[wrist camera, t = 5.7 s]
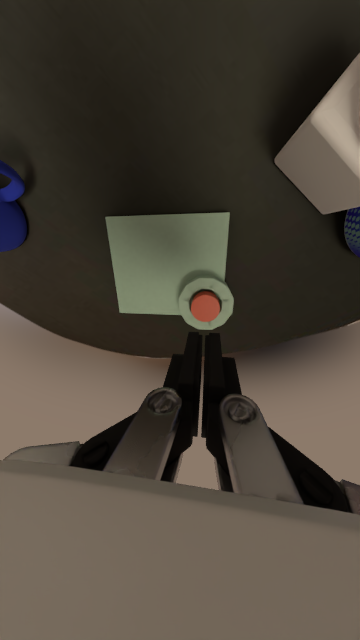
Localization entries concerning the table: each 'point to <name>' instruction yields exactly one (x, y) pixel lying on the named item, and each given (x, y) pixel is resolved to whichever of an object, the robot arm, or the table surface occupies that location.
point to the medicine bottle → (328, 148)
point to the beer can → (353, 230)
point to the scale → (170, 263)
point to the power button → (205, 306)
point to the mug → (11, 211)
